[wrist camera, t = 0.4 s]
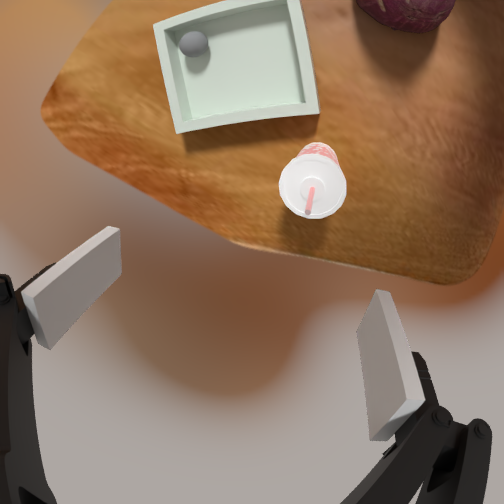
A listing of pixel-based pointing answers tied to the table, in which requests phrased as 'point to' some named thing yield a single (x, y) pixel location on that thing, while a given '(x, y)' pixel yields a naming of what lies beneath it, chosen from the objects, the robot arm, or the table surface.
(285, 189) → the beverage cup
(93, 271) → the robot arm
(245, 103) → the tray
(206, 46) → the ball
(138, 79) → the table surface
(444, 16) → the vegetable
